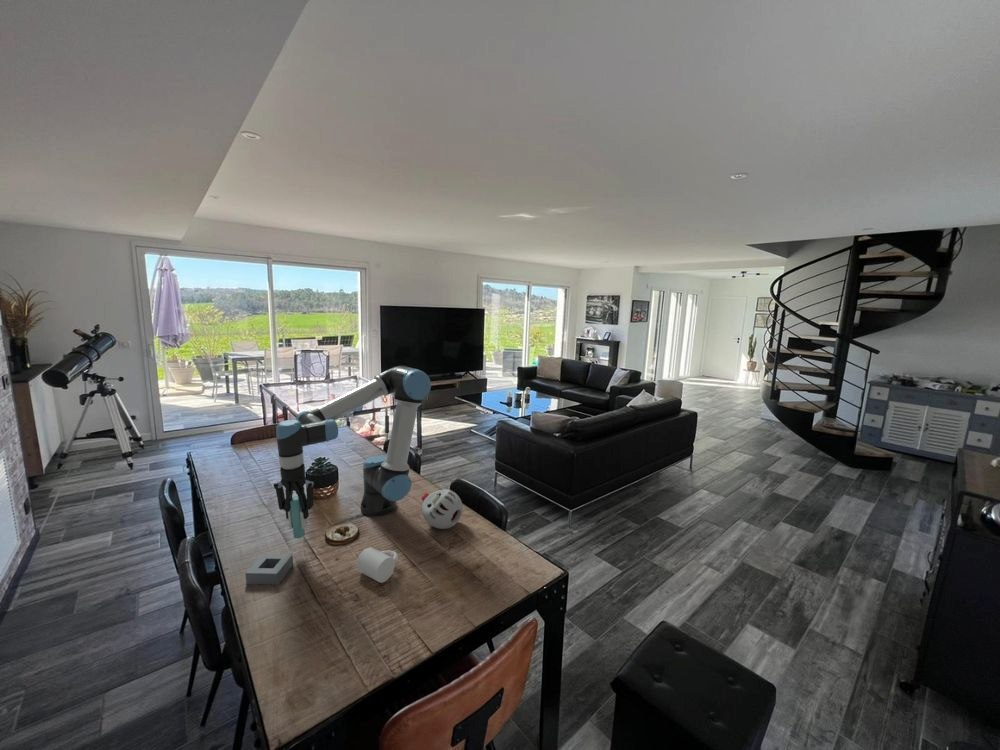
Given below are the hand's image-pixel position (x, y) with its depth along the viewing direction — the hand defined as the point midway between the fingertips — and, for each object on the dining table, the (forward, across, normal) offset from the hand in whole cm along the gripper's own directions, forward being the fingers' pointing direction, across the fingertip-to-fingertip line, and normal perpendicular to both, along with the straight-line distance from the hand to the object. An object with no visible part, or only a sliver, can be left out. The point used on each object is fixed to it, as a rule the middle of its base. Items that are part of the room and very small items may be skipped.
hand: (298, 526), depth 143 cm
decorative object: (+12, -47, -20) cm, 53 cm away
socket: (+10, +5, +12) cm, 16 cm away
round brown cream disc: (+12, -10, -11) cm, 19 cm away
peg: (+3, 0, 0) cm, 3 cm away
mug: (+11, -31, +10) cm, 35 cm away
